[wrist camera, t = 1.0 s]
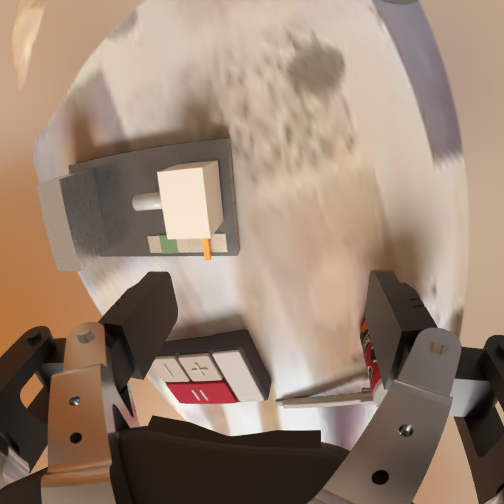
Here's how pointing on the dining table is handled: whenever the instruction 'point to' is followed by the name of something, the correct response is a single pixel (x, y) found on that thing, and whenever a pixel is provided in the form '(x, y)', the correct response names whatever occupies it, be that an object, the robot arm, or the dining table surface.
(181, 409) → the dining table surface
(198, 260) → the dining table surface
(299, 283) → the dining table surface
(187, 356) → the calculator
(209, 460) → the robot arm
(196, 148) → the gauge base
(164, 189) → the block
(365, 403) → the caliper
